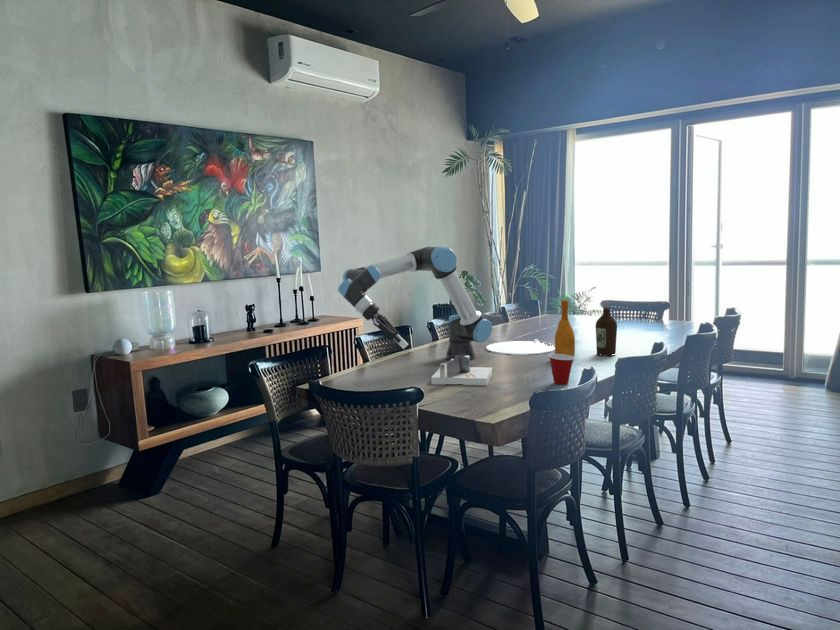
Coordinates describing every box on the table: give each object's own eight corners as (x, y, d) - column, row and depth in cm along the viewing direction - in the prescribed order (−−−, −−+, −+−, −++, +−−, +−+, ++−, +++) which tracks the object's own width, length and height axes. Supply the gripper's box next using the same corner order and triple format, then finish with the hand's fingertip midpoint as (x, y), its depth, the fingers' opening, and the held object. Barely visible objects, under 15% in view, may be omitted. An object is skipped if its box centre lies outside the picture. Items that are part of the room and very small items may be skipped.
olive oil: (606, 352, 325) (606, 305, 322) (621, 355, 316) (621, 306, 313) (591, 354, 320) (591, 306, 317) (606, 357, 311) (606, 308, 308)
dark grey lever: (459, 369, 278) (459, 354, 277) (472, 370, 275) (472, 355, 274) (436, 378, 260) (435, 362, 259) (449, 380, 257) (448, 363, 256)
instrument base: (440, 373, 286) (440, 358, 285) (492, 374, 281) (491, 359, 280) (431, 384, 265) (431, 368, 264) (486, 385, 260) (486, 369, 259)
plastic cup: (575, 386, 254) (576, 358, 252) (549, 386, 255) (549, 357, 254) (573, 380, 264) (573, 353, 263) (548, 380, 266) (548, 353, 265)
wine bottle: (566, 356, 315) (566, 298, 312) (578, 360, 307) (579, 300, 303) (550, 359, 311) (550, 300, 307) (563, 362, 302) (563, 301, 299)
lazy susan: (510, 340, 371) (510, 335, 370) (570, 346, 346) (570, 340, 345) (472, 351, 340) (472, 345, 340) (535, 358, 315) (535, 351, 315)
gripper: (366, 312, 273) (403, 349, 271) (357, 316, 260) (396, 355, 259) (377, 300, 271) (415, 338, 270) (368, 304, 259) (408, 343, 257)
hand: (406, 346), depth 264 cm, fingers closed
